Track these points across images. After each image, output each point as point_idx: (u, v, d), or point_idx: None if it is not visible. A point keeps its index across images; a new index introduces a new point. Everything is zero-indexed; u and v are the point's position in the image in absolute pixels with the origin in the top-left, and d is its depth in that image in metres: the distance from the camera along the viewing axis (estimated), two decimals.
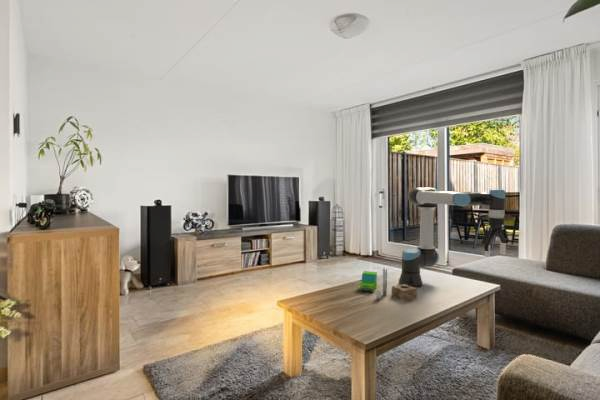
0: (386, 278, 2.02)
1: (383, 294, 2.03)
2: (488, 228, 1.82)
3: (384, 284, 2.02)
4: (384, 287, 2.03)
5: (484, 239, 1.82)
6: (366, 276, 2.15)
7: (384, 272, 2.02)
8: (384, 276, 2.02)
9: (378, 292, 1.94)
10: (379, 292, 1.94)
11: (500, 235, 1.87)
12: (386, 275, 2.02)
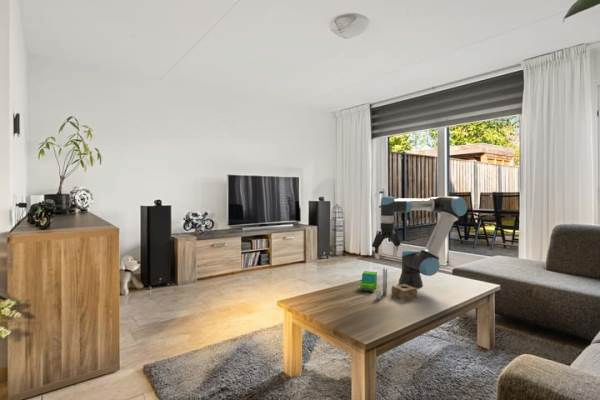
0: (386, 278, 2.02)
1: (383, 294, 2.03)
2: (378, 232, 1.98)
3: (384, 284, 2.02)
4: (384, 287, 2.03)
5: (374, 242, 1.98)
6: (366, 276, 2.15)
7: (384, 272, 2.02)
8: (384, 276, 2.02)
9: (378, 292, 1.94)
10: (379, 292, 1.94)
11: (391, 239, 2.03)
12: (386, 275, 2.02)
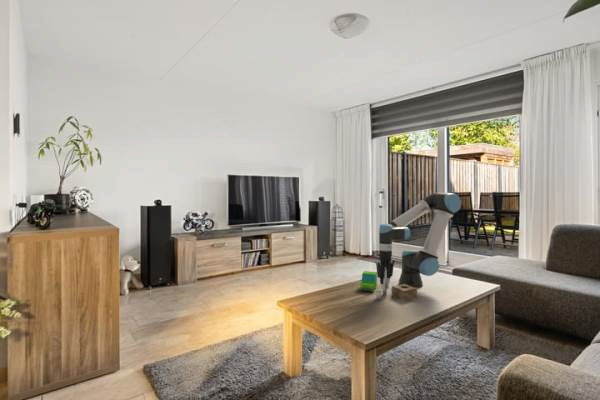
0: (386, 278, 2.02)
1: (383, 294, 2.03)
2: (377, 264, 2.00)
3: None
4: None
5: (378, 274, 2.01)
6: (366, 276, 2.15)
7: (384, 272, 2.02)
8: (384, 276, 2.02)
9: (378, 292, 1.94)
10: (379, 292, 1.94)
11: (386, 267, 2.03)
12: (386, 275, 2.02)
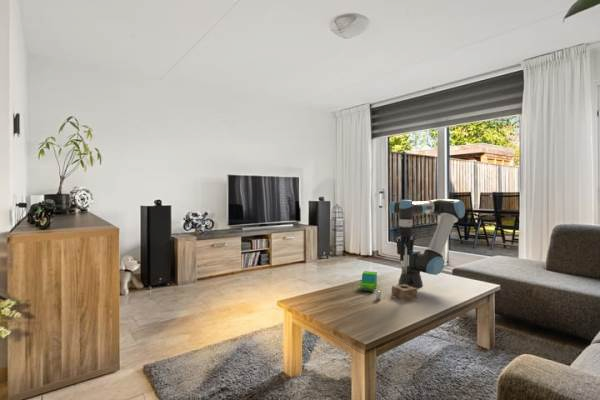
0: (406, 256, 1.98)
1: (403, 272, 1.99)
2: (397, 240, 1.96)
3: None
4: None
5: (398, 250, 1.97)
6: (366, 276, 2.15)
7: None
8: (404, 254, 1.98)
9: (378, 292, 1.94)
10: (379, 292, 1.94)
11: (407, 244, 1.99)
12: (406, 253, 1.98)
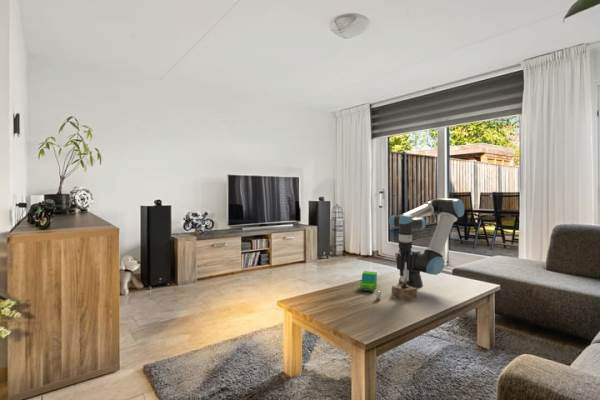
0: (406, 271, 1.98)
1: (403, 287, 1.99)
2: (397, 255, 1.96)
3: None
4: None
5: (398, 265, 1.97)
6: (366, 276, 2.15)
7: (404, 265, 1.98)
8: (404, 269, 1.98)
9: (378, 292, 1.94)
10: (379, 292, 1.94)
11: (406, 259, 1.99)
12: (406, 268, 1.98)
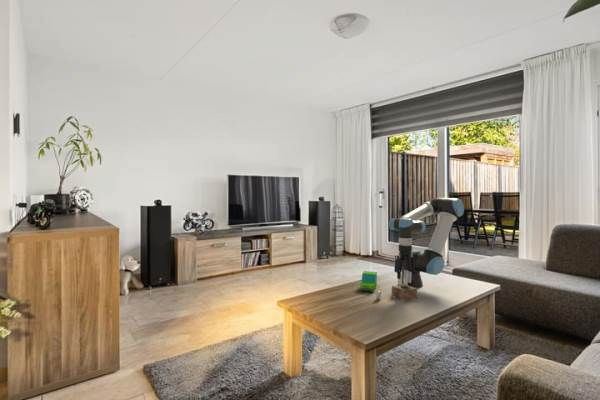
0: (407, 280, 1.99)
1: None
2: (396, 257, 1.96)
3: (404, 286, 1.99)
4: None
5: (395, 268, 1.97)
6: (366, 276, 2.15)
7: (405, 273, 1.99)
8: (405, 277, 1.99)
9: (378, 292, 1.94)
10: (379, 292, 1.94)
11: (408, 262, 2.00)
12: (407, 276, 1.99)
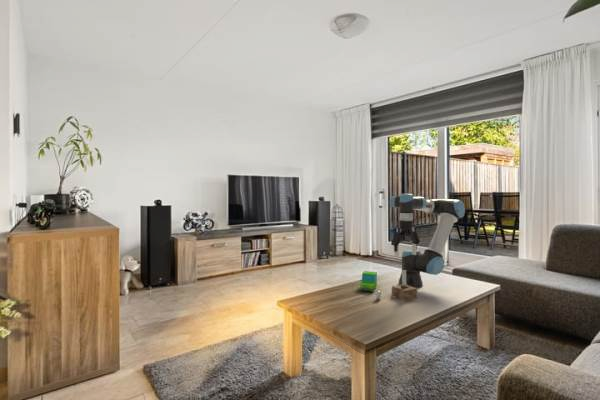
0: (405, 280, 1.99)
1: None
2: (397, 230, 1.95)
3: (404, 286, 1.99)
4: None
5: (393, 240, 1.95)
6: (366, 276, 2.15)
7: (403, 274, 1.99)
8: (403, 278, 1.99)
9: (378, 292, 1.94)
10: (379, 292, 1.94)
11: (410, 236, 2.00)
12: (405, 277, 1.99)
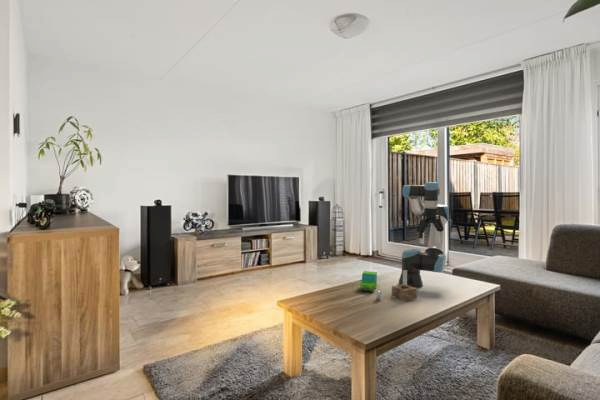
0: (406, 280, 1.99)
1: None
2: (422, 217, 2.00)
3: (404, 286, 1.99)
4: None
5: (418, 227, 1.99)
6: (366, 276, 2.15)
7: (404, 274, 1.99)
8: (404, 278, 1.99)
9: (378, 292, 1.94)
10: (379, 292, 1.94)
11: (435, 224, 2.04)
12: (406, 277, 1.99)
